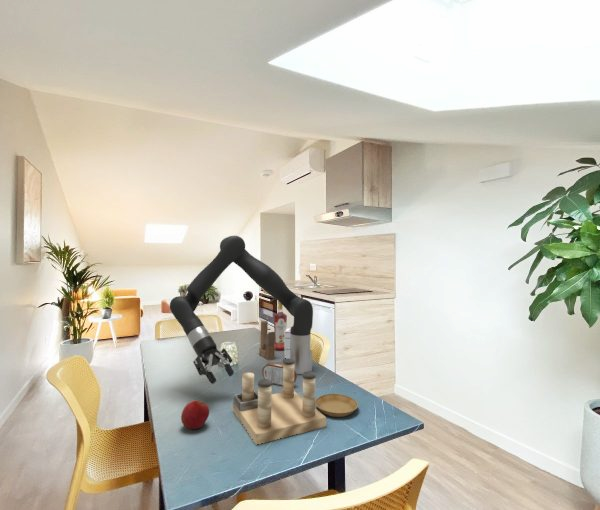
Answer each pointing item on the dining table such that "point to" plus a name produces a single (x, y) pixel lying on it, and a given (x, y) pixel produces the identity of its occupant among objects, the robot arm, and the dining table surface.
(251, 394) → the birch leg
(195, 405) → the apple
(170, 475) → the dining table surface
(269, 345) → the wooden block
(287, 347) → the syrup box
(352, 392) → the dining table surface
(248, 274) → the robot arm
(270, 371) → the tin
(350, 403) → the plant saucer
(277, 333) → the liquor
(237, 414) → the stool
